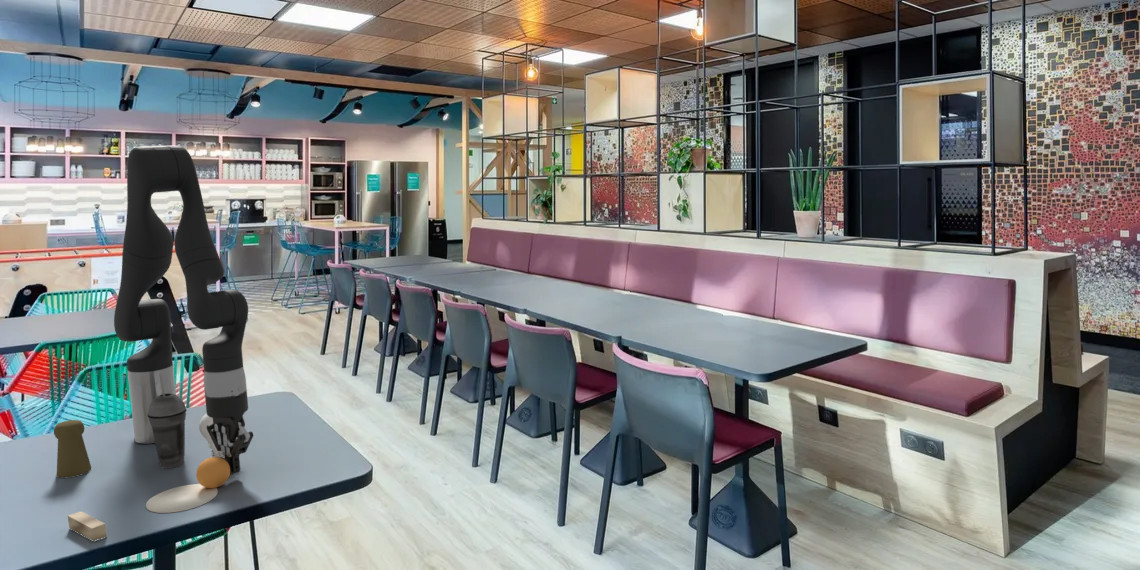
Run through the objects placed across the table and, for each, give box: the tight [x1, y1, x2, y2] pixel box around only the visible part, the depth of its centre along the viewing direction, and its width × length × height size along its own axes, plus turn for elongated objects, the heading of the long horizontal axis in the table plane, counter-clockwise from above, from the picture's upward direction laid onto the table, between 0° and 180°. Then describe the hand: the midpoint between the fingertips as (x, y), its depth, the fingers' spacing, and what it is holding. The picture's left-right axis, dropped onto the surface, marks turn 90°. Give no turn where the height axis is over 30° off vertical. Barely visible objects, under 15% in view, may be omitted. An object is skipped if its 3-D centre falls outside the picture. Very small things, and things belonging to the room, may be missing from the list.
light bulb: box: [198, 412, 225, 459], centre depth 151 cm, size 7×7×11 cm
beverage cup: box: [148, 373, 188, 469], centre depth 148 cm, size 7×7×20 cm
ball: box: [195, 456, 231, 488], centre depth 137 cm, size 6×6×6 cm
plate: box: [145, 483, 219, 514], centre depth 132 cm, size 12×12×1 cm
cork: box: [53, 419, 92, 479], centre depth 145 cm, size 6×6×11 cm
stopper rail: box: [67, 510, 108, 541], centre depth 119 cm, size 9×2×2 cm, turn 57°
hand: (233, 472), depth 140 cm, fingers closed
